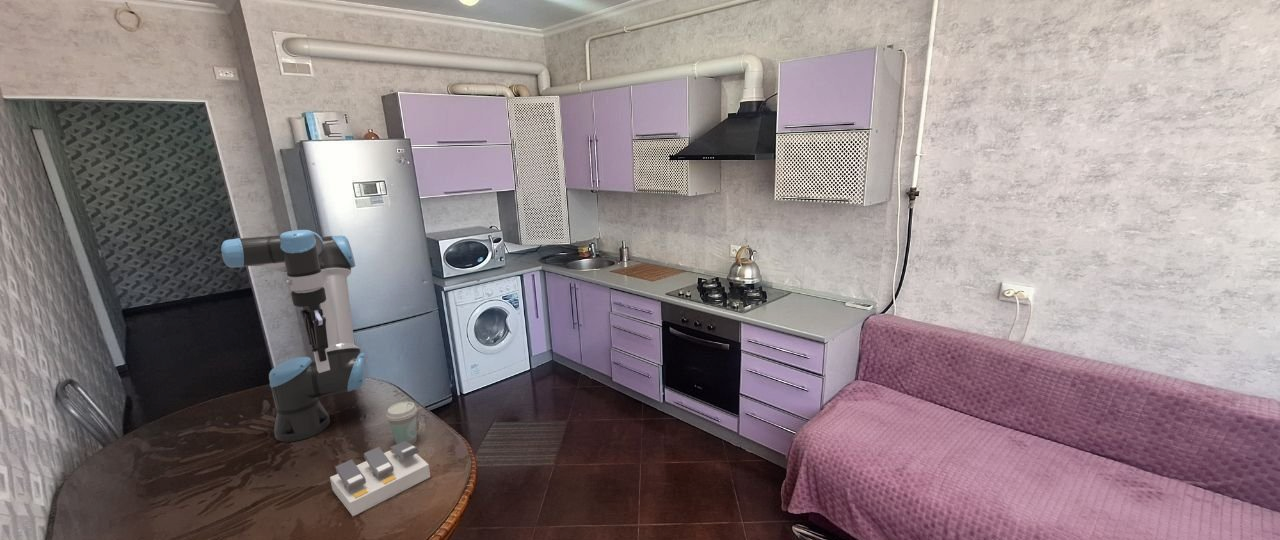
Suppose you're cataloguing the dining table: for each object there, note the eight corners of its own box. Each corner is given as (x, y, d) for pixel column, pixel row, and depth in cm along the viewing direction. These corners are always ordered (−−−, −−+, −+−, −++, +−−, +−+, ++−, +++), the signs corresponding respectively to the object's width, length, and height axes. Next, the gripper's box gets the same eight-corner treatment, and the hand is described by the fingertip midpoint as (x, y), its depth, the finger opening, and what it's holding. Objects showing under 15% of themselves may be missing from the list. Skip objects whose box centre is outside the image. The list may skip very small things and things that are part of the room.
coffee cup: (410, 451, 152) (404, 416, 149) (385, 449, 154) (379, 413, 151) (427, 435, 160) (422, 401, 157) (403, 433, 162) (397, 399, 159)
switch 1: (336, 471, 133) (335, 466, 133) (352, 464, 136) (351, 458, 135) (349, 491, 128) (348, 485, 127) (366, 483, 131) (365, 477, 130)
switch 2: (364, 457, 138) (363, 452, 137) (379, 450, 141) (379, 446, 140) (378, 478, 133) (377, 473, 132) (393, 471, 136) (393, 466, 135)
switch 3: (391, 452, 143) (390, 446, 143) (405, 445, 146) (404, 440, 146) (404, 459, 137) (402, 453, 137) (418, 452, 140) (417, 446, 140)
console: (332, 490, 136) (328, 472, 135) (406, 455, 150) (404, 438, 149) (352, 516, 126) (349, 497, 125) (430, 476, 141) (427, 459, 139)
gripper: (284, 287, 136) (301, 368, 142) (298, 297, 127) (316, 382, 133) (315, 281, 141) (330, 359, 147) (331, 290, 133) (347, 372, 139)
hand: (323, 370), depth 140 cm, fingers closed
